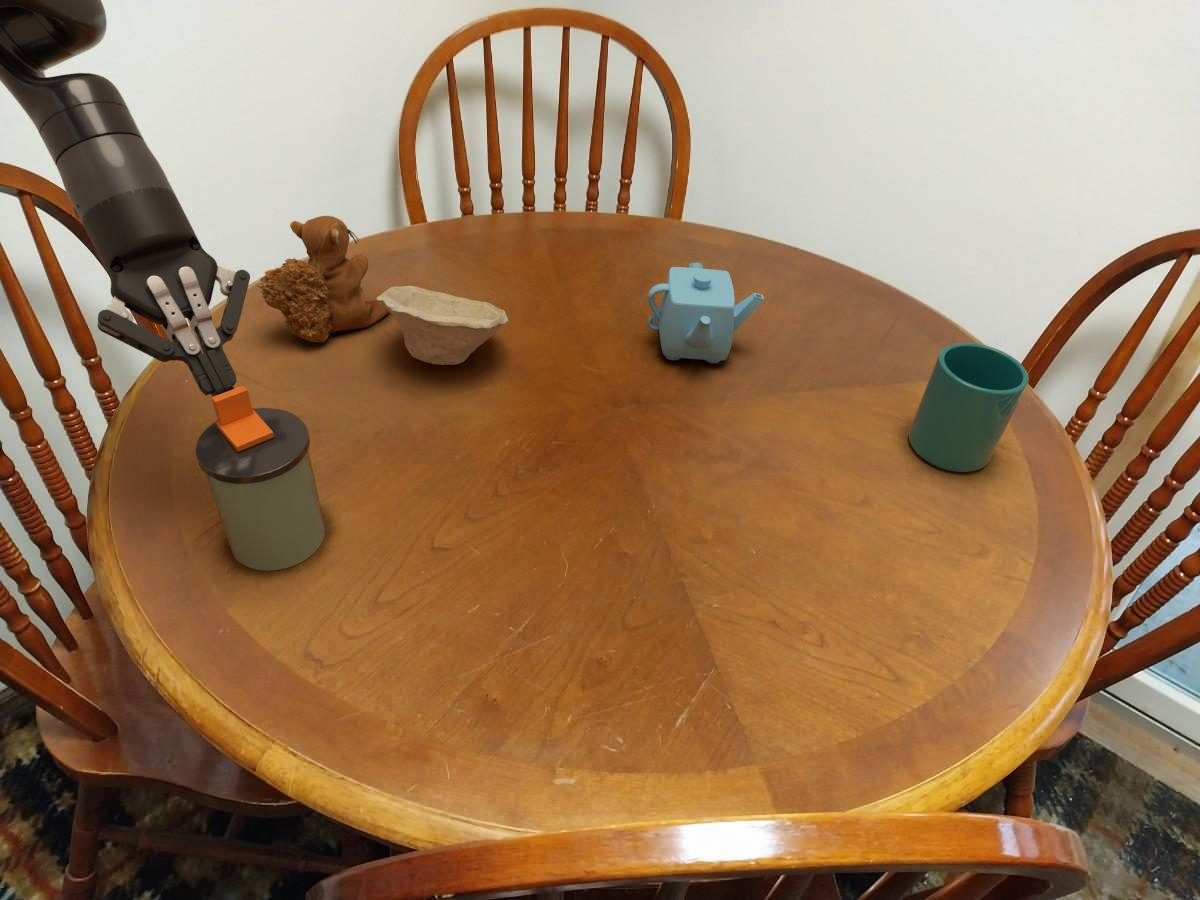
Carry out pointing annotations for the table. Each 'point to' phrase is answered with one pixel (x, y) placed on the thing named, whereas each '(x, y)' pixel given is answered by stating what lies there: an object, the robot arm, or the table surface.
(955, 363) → the cup
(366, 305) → the stuffed squirrel
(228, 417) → the slider
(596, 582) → the table surface
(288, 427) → the lidded canister
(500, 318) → the bowl
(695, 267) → the teapot
